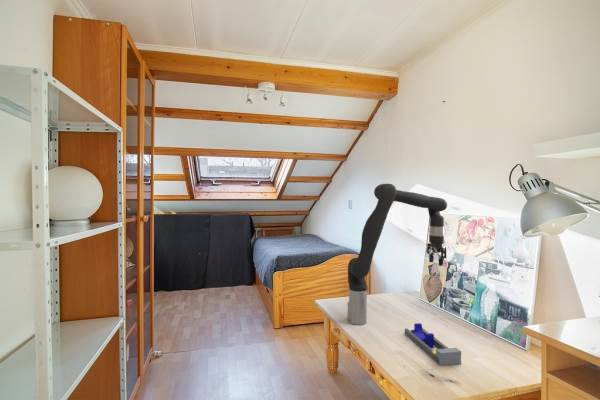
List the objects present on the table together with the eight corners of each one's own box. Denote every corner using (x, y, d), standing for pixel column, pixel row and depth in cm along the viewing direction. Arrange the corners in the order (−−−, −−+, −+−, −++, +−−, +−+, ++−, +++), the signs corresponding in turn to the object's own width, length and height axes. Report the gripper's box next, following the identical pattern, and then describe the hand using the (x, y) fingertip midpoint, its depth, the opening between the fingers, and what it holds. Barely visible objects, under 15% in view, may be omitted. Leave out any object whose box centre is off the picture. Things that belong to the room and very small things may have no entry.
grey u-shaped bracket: (440, 365, 122) (440, 353, 122) (404, 333, 149) (404, 323, 149) (461, 363, 123) (461, 351, 123) (421, 332, 151) (421, 322, 151)
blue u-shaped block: (411, 336, 148) (411, 323, 148) (420, 335, 148) (420, 323, 148) (424, 348, 136) (424, 335, 136) (433, 348, 136) (433, 334, 136)
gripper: (423, 232, 177) (422, 261, 177) (438, 236, 162) (437, 267, 163) (434, 232, 178) (434, 260, 178) (451, 236, 164) (450, 266, 164)
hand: (435, 263), depth 170 cm, fingers open, 8 cm apart
